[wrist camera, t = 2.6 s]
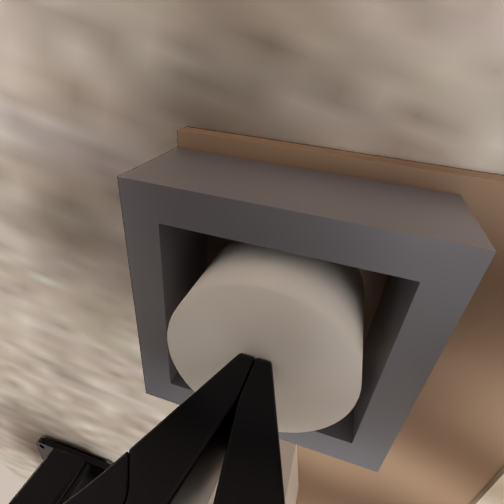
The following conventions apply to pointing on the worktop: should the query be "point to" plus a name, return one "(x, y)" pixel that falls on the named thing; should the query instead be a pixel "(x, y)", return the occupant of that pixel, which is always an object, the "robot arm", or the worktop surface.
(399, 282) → the frame
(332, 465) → the board
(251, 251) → the dome
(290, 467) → the die
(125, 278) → the worktop surface
